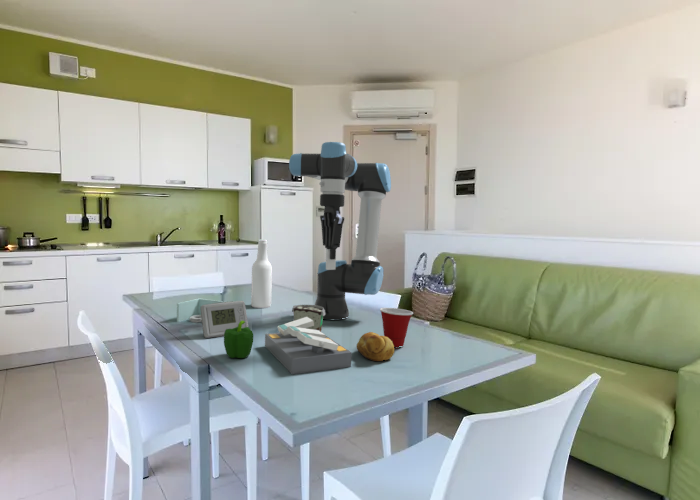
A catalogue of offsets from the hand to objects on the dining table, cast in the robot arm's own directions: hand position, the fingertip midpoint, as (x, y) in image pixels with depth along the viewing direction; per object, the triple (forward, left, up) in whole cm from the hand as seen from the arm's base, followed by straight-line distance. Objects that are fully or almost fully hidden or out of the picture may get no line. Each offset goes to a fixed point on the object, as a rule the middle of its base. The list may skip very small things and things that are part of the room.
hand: (330, 269), depth 136 cm
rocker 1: (+10, -2, -18) cm, 21 cm away
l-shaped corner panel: (+32, -46, -25) cm, 62 cm away
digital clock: (+28, -24, -25) cm, 44 cm away
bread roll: (-9, +14, -25) cm, 30 cm away
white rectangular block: (+10, +16, -18) cm, 26 cm away
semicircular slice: (0, -14, -25) cm, 29 cm away
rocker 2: (+10, +7, -18) cm, 22 cm away
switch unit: (+10, +7, -25) cm, 27 cm away
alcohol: (+4, -65, -25) cm, 70 cm away
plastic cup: (-21, +7, -25) cm, 33 cm away
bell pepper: (+28, +1, -25) cm, 38 cm away
